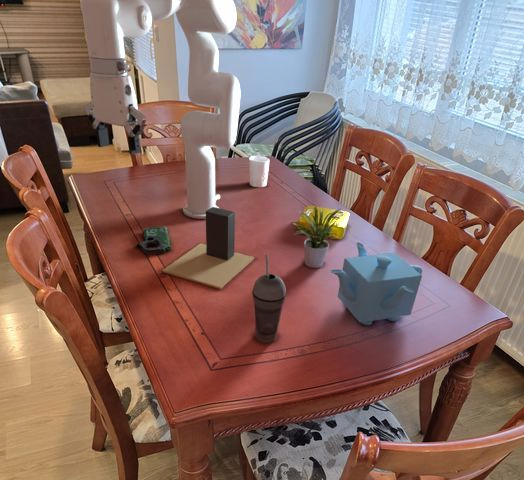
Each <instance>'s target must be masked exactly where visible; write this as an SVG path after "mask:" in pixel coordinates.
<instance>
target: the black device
mask: <svg viewBox="0 0 524 480" xmlns="http://www.w3.org/2000/svg"><path fill="white" fill-rule="evenodd" d="M235 236H236V211H232V210H228V209H224V208H220V207H219V208H216V207H212V208H210V209H209V210H207V211H206V219H205V244H206V255H209V256H212V257H216V258H220V259H223V260H227V261H228V260H229V259H230V258H232V257H233V256H234V252H235Z"/></svg>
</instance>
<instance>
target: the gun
mask: <svg viewBox="0 0 524 480" xmlns="http://www.w3.org/2000/svg"><path fill="white" fill-rule="evenodd" d="M142 238H143V241H141V242H138V243H136V245H135V246H136V247H135V248H138V249H139V250H141V252H142V253H144V254H147V255H157V254H163V255H165V253H168V252H170V251H171V250H172V246H171V245H172V242H171V239H170V237H169V231H168V228H167V227H166V226H165V225H163V226H162V225H161V226H160V225H159V226H148V227H145V228H144V230H143V231H142ZM152 246H156V247H155V248H148V247H152Z"/></svg>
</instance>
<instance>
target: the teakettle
mask: <svg viewBox="0 0 524 480" xmlns="http://www.w3.org/2000/svg"><path fill="white" fill-rule="evenodd" d="M355 245H356V248H357V251H358V256H353V257H345V258H343V264H342V268H341V269H337V268H336V269H330V270H329V272H330V273H331V274H334V275H335V276H337V278H338V283H339V284H338V285H339V286H338V292H337V298H338V299H339V300H340V301H341V303H342V304H343V305H344V306H345V307H346V308H347V310H348V311H349V312H350V313H351V314H352V315H353V316H354V318H355V319H356V320H357V321H358V323H360V324H362V325H365V326H371V325H372V324H373V321H378V320H379V321H380V320H385V319H386V320H388V321H391V322H396V321H398V319H399V317H404V316H410V315H411V314H412V312H413V308H414V305H415V302H416V299H417V294H418V291H419V287H420V284H421V282H422V278H423V275H422V274H423V268H422V267H421V266H419V265H415V264H409V263H408V262H407V261H405V260H404V259H403V258H402V257H401V256H399V255H398V254H397V253H396V252H389V253H379V254H378V253H377V254H370V255H369V254H368V253H367V249H366V247H365V246H364V244H363V243H362V242H356V244H355Z"/></svg>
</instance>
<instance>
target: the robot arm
mask: <svg viewBox="0 0 524 480" xmlns="http://www.w3.org/2000/svg"><path fill="white" fill-rule="evenodd" d="M80 6H81V7H80V8H81V14H82V21H83V28H84V32H85V33H84V34H85V42H86V46H87V52H88V53H87V54H88V60H89V66H90V73H89V91H90V100H91V101H90V102H88V103H87V104H85V105H84V111H85V113H86V115H87V117H88V120H89V121H90V123H91V124H92V128H93V130H95V134H96V142H97V147H98V148H103V147H107V146H109V145H110V139H109V132H108V131H109V130H108V127H107V126H106V124H109V125H112V126H119V127H124V129H125V130H126V132H127V134H128V135H129V136H127V143H128V152H129V155H131V156H134V155H138V154H140V153H141V152H142V151H141V142H140V136H141V135H142V132H143V131H144V129H145V126H146V121H147V116H145V115H144V113H142V112H141V111H139V108H138V102H137V97H136V91H135V88H134V83H133V79H132V77H131V75H130V74H128V71H129V69H130V66H129V64H128V63H127V59H126V51H125V50H126V49H125V41H124V38H132V39H140V38H142V37H144V36H146V35H147V34H148V33H149V32H150V30H151V28H152V23H153V22H154V21H161V20H165V19H168V18H169V17H170V16H172V15H174V14H175V17H176V19H177V22H178V25H180V28H181V29H182V31H183V34H184V36H185V38H186V41H187V45H188V51H189V52H188V54H189V57H188V59H189V60H188V61H189V62H188V75H187V76H188V77H187V79H188V80H187V96H188V99H189V101H190V102H191V103H192V104H193V105H196V106H199V107H204V108H211V109H219V113H216V112H210V111H204V110H189V111H186V112H184V114H183V115H182V116H181V119H180V123H179V124H180V125H179V126H180V134H181V139H182V143H183V150H184V162H185V183H186V184H185V185H186V205H184V206H183V208H182V213H183V214H184V215H185V216H187V217H189V218H192V219H197V220H206V211H207V210H209V209H210V208H212V207H216V208H220V207H219V206H218V205H216V202H218V200H220V199H221V195H220V194H219V193H216V158H215V155H214V151H213V150H212V148H216V149H222V150H229V149H231V148H232V147H234V145H235V143H236V139H237V133H238V126H239V118H240V117H239V116H240V107H241V86H240V85H241V84H240V81H239V78H237V76H235V75H234V74H232V73H230V72H222V71H219V60H220V58H219V57H220V52H219V48H218V45H217V43H216V41H215V38H214V37H213V35H212V34H215V35H228V34H230V33H231V32H233V30H234V29H235V27H236V24H237V18H238V17H237V15H238V14H237V8H236V3H235V2H234V0H81V1H80Z"/></svg>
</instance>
